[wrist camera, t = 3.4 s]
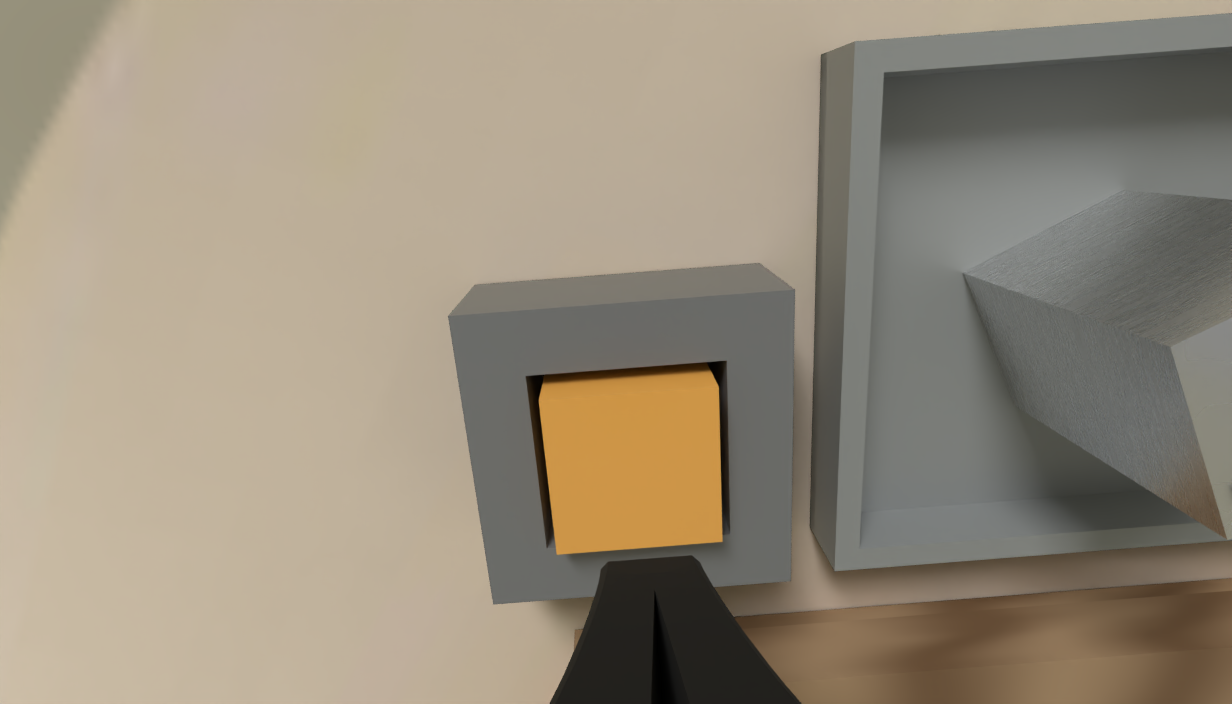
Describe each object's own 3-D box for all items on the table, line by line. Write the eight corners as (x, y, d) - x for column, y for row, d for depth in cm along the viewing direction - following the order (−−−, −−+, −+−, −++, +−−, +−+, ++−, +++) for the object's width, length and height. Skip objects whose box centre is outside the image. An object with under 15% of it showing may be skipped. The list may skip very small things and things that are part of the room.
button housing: (759, 263, 16) (794, 289, 13) (760, 511, 18) (790, 581, 15) (474, 285, 16) (447, 315, 13) (509, 531, 18) (493, 604, 15)
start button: (696, 342, 16) (718, 387, 13) (701, 474, 17) (722, 541, 14) (549, 354, 16) (538, 400, 13) (563, 484, 17) (556, 554, 14)
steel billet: (1122, 189, 15) (1455, 220, 9) (1165, 332, 16) (1484, 439, 10) (962, 272, 16) (1181, 350, 10) (1013, 405, 17) (1238, 547, 11)
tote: (1362, 14, 15) (1477, -5, 13) (1239, 493, 18) (1314, 533, 16) (821, 54, 15) (854, 41, 13) (809, 526, 18) (834, 571, 16)
